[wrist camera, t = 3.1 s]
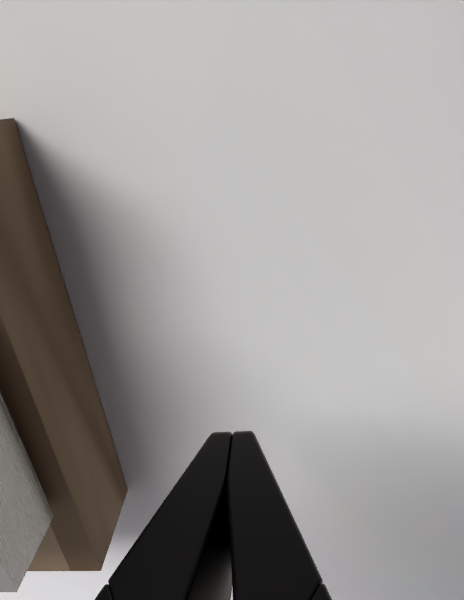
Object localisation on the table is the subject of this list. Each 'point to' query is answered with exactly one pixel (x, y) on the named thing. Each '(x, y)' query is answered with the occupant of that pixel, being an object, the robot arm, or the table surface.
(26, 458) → the panel
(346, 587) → the table surface
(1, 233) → the socket board
